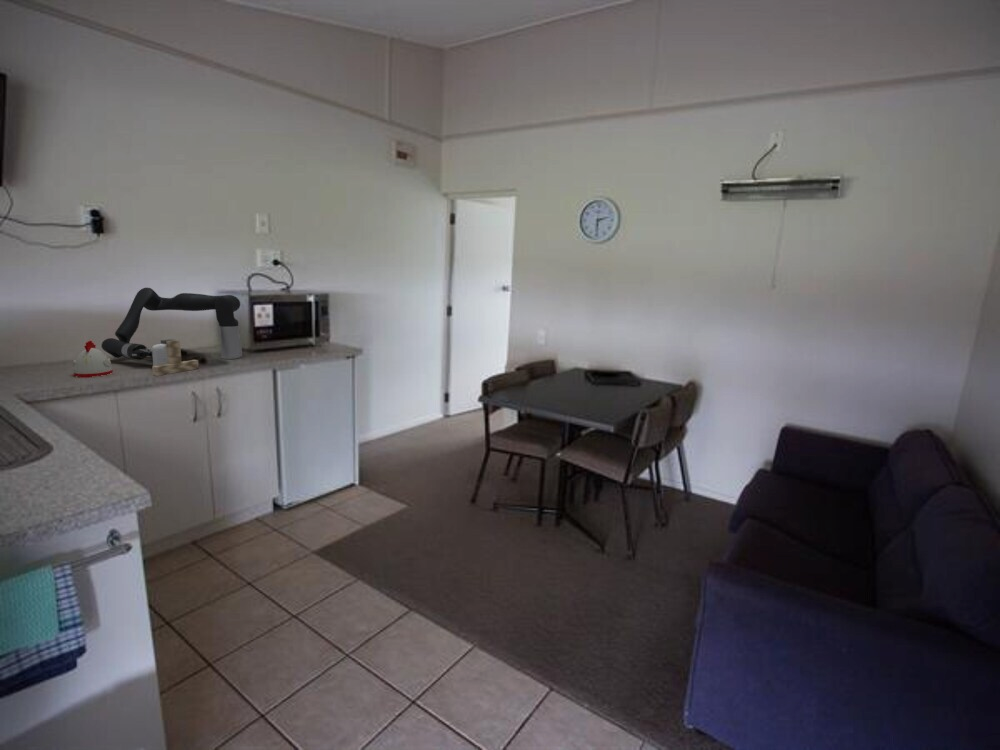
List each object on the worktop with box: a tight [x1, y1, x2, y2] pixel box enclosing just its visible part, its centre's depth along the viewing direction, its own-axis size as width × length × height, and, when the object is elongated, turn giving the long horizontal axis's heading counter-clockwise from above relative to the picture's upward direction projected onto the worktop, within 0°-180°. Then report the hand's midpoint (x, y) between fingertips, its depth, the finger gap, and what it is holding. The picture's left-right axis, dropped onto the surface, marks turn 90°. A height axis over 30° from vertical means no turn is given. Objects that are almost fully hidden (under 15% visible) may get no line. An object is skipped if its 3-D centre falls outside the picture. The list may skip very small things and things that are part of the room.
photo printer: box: [151, 343, 168, 366], centre depth 246 cm, size 10×4×12 cm, turn 86°
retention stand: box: [152, 338, 200, 377], centre depth 244 cm, size 20×7×14 cm, turn 155°
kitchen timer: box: [73, 340, 114, 378], centre depth 233 cm, size 14×14×15 cm
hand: (157, 354), depth 248 cm, fingers closed
